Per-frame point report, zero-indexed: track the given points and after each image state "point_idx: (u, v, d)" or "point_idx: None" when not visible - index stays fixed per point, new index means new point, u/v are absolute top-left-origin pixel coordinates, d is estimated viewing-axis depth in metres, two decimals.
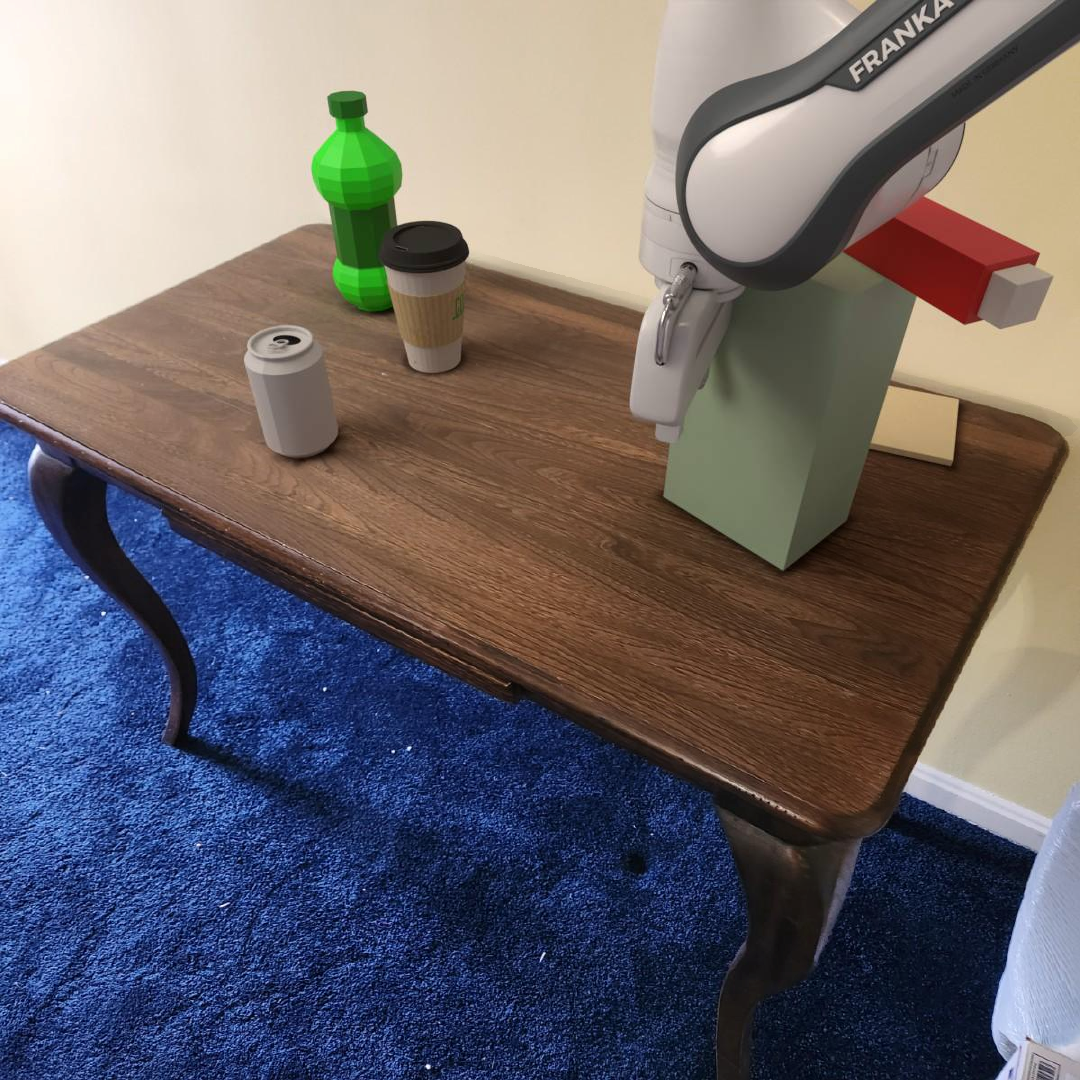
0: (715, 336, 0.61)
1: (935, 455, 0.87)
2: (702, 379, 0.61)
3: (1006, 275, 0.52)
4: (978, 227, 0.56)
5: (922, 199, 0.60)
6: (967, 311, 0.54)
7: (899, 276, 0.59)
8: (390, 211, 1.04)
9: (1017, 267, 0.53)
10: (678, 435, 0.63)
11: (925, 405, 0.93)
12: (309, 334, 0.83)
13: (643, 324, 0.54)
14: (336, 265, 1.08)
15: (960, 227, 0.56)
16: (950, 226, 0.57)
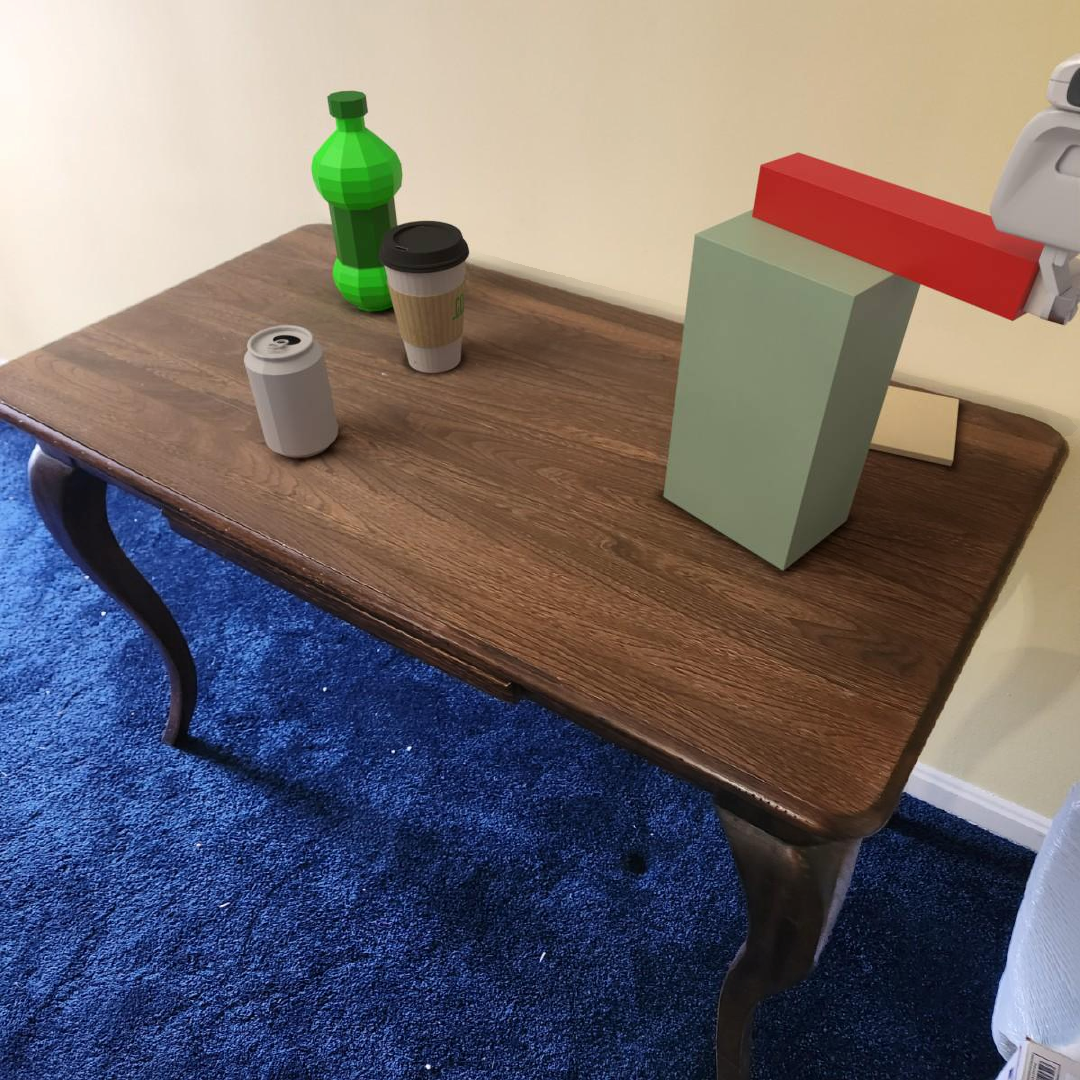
0: None
1: (935, 455, 0.87)
2: None
3: None
4: None
5: (931, 199, 0.60)
6: (1015, 307, 0.55)
7: (929, 278, 0.59)
8: (390, 211, 1.04)
9: None
10: None
11: (925, 405, 0.93)
12: (309, 334, 0.83)
13: None
14: (336, 265, 1.08)
15: (986, 225, 0.57)
16: (975, 224, 0.57)
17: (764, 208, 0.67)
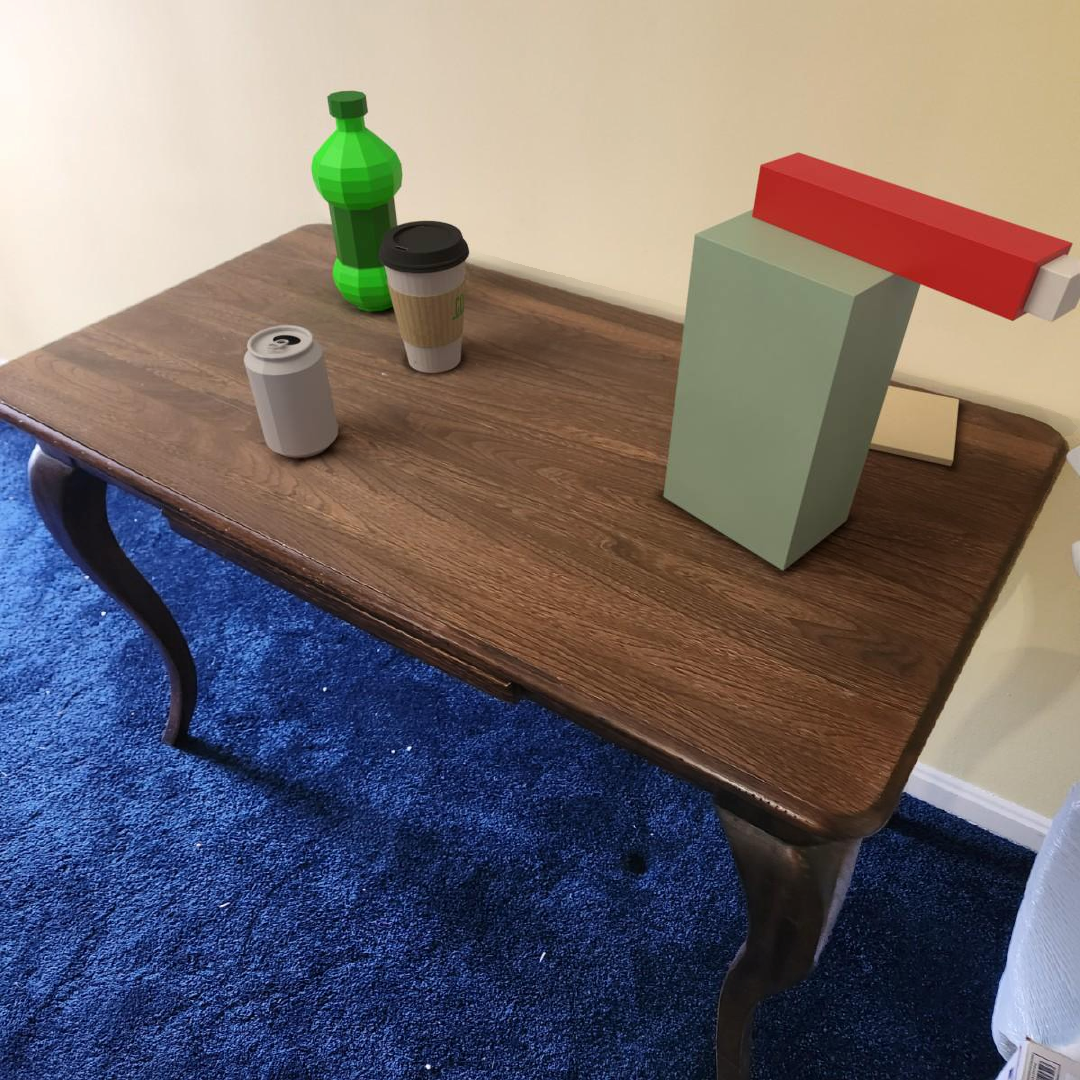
0: None
1: (935, 455, 0.87)
2: None
3: (1055, 269, 0.53)
4: (1001, 223, 0.57)
5: (931, 199, 0.60)
6: (1015, 307, 0.55)
7: (929, 278, 0.59)
8: (390, 211, 1.04)
9: (1058, 259, 0.54)
10: None
11: (925, 405, 0.93)
12: (309, 334, 0.83)
13: None
14: (336, 265, 1.08)
15: (986, 225, 0.57)
16: (975, 224, 0.57)
17: (764, 208, 0.67)
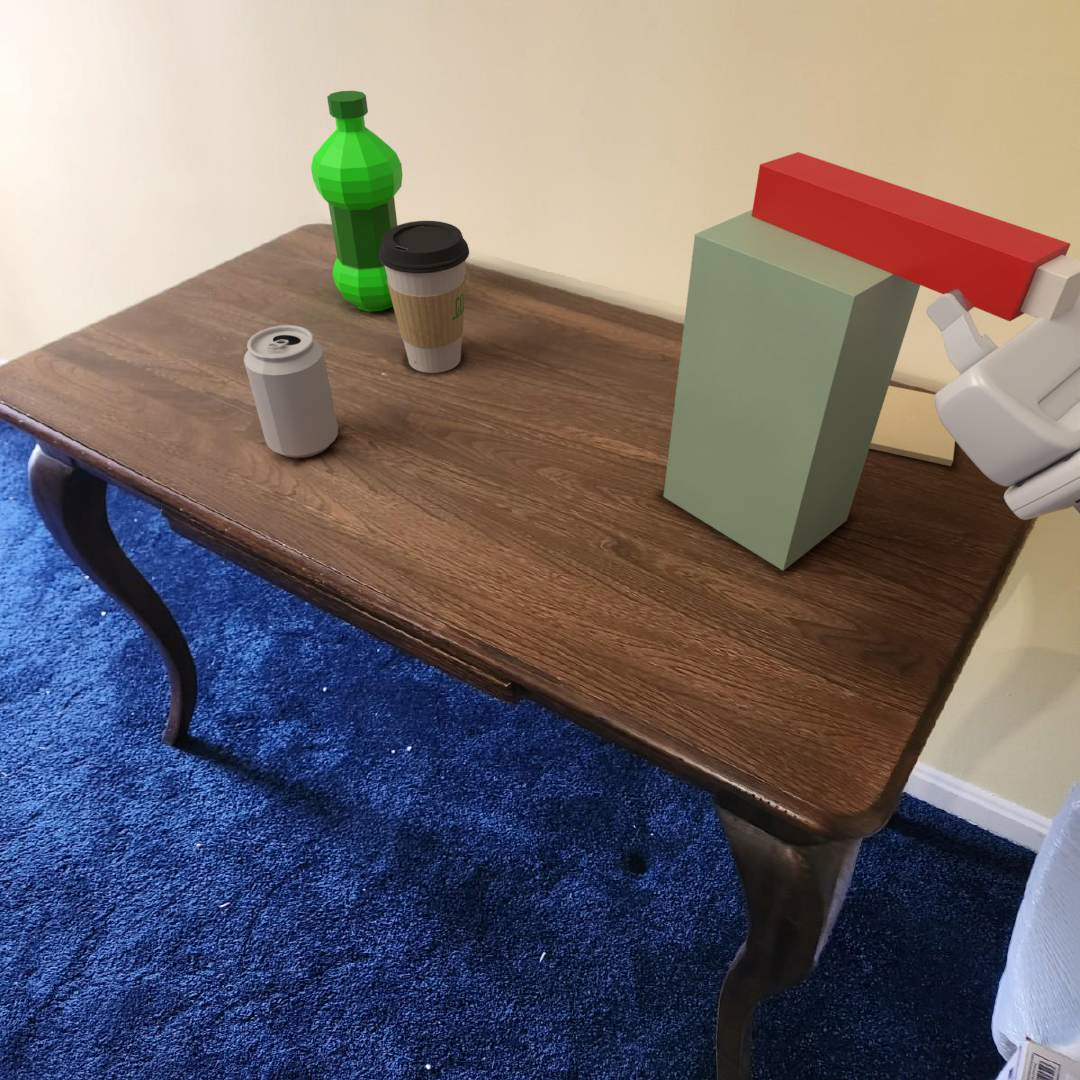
0: (1077, 338, 0.54)
1: (935, 455, 0.87)
2: None
3: (1052, 269, 0.53)
4: (999, 223, 0.57)
5: (929, 199, 0.60)
6: (1012, 308, 0.55)
7: (926, 278, 0.58)
8: (390, 211, 1.04)
9: (1055, 260, 0.54)
10: None
11: (925, 405, 0.93)
12: (309, 334, 0.83)
13: None
14: (336, 265, 1.08)
15: (984, 225, 0.57)
16: (973, 224, 0.57)
17: (763, 208, 0.67)
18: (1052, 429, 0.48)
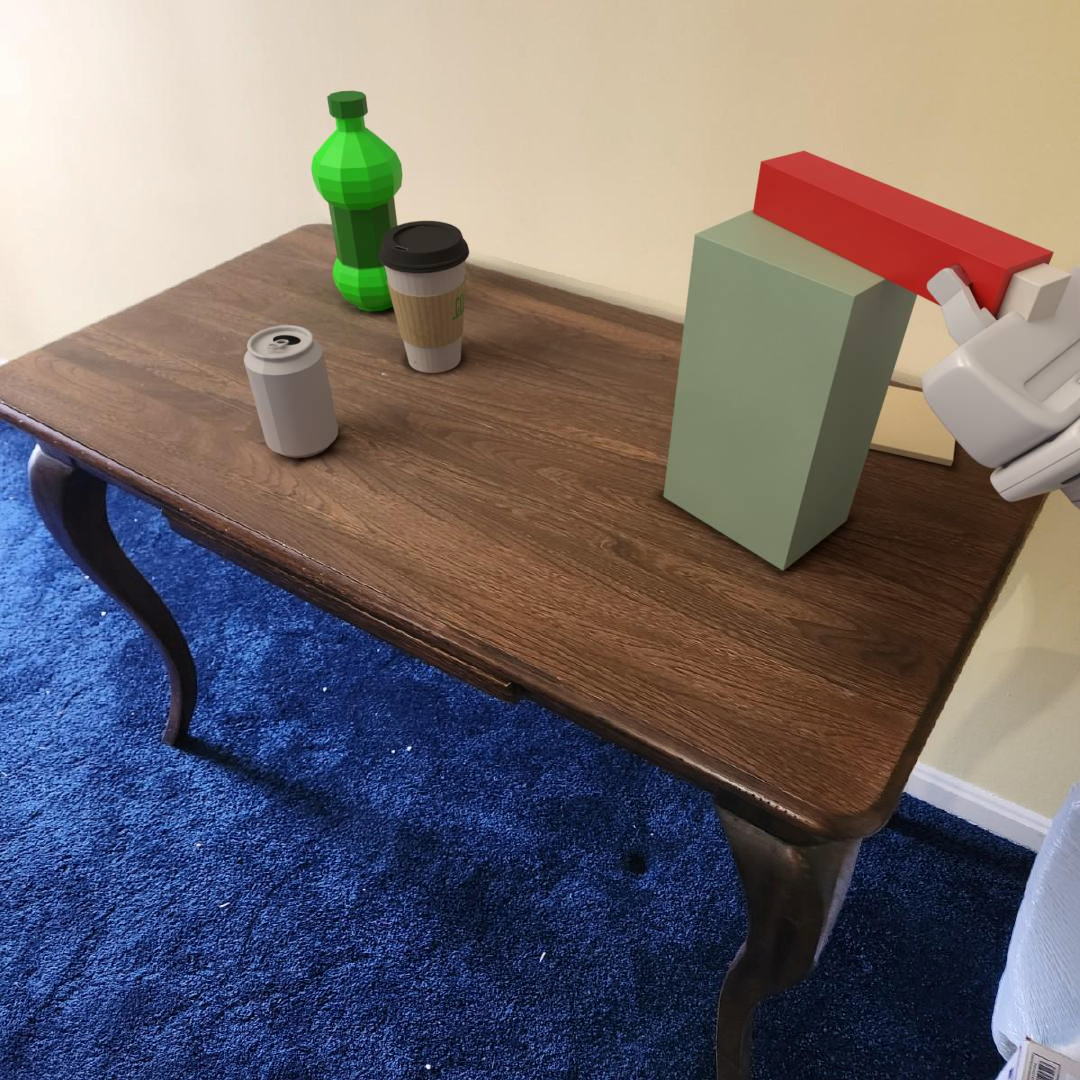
0: (1063, 321, 0.54)
1: (935, 455, 0.87)
2: None
3: (1027, 277, 0.52)
4: (986, 228, 0.56)
5: (922, 202, 0.60)
6: None
7: (909, 281, 0.58)
8: (390, 211, 1.04)
9: (1034, 268, 0.53)
10: None
11: (925, 405, 0.93)
12: (309, 334, 0.83)
13: None
14: (336, 265, 1.08)
15: (969, 230, 0.56)
16: (958, 229, 0.56)
17: (763, 205, 0.67)
18: (1036, 410, 0.49)
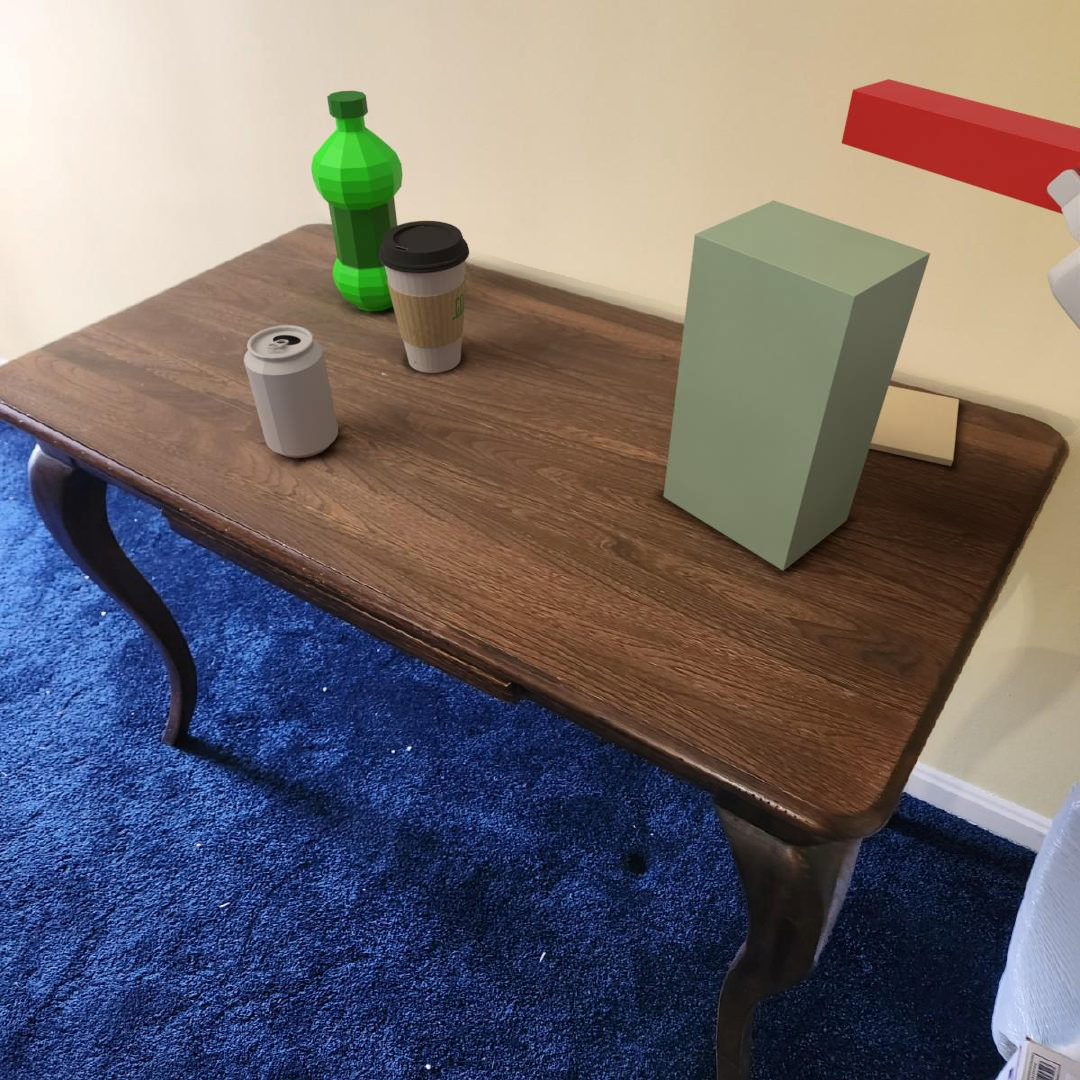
0: None
1: (935, 455, 0.87)
2: None
3: None
4: None
5: (1027, 116, 0.61)
6: None
7: (1026, 193, 0.60)
8: (390, 211, 1.04)
9: None
10: None
11: (925, 405, 0.93)
12: (309, 334, 0.83)
13: None
14: (336, 265, 1.08)
15: None
16: (1075, 137, 0.58)
17: (855, 134, 0.68)
18: None
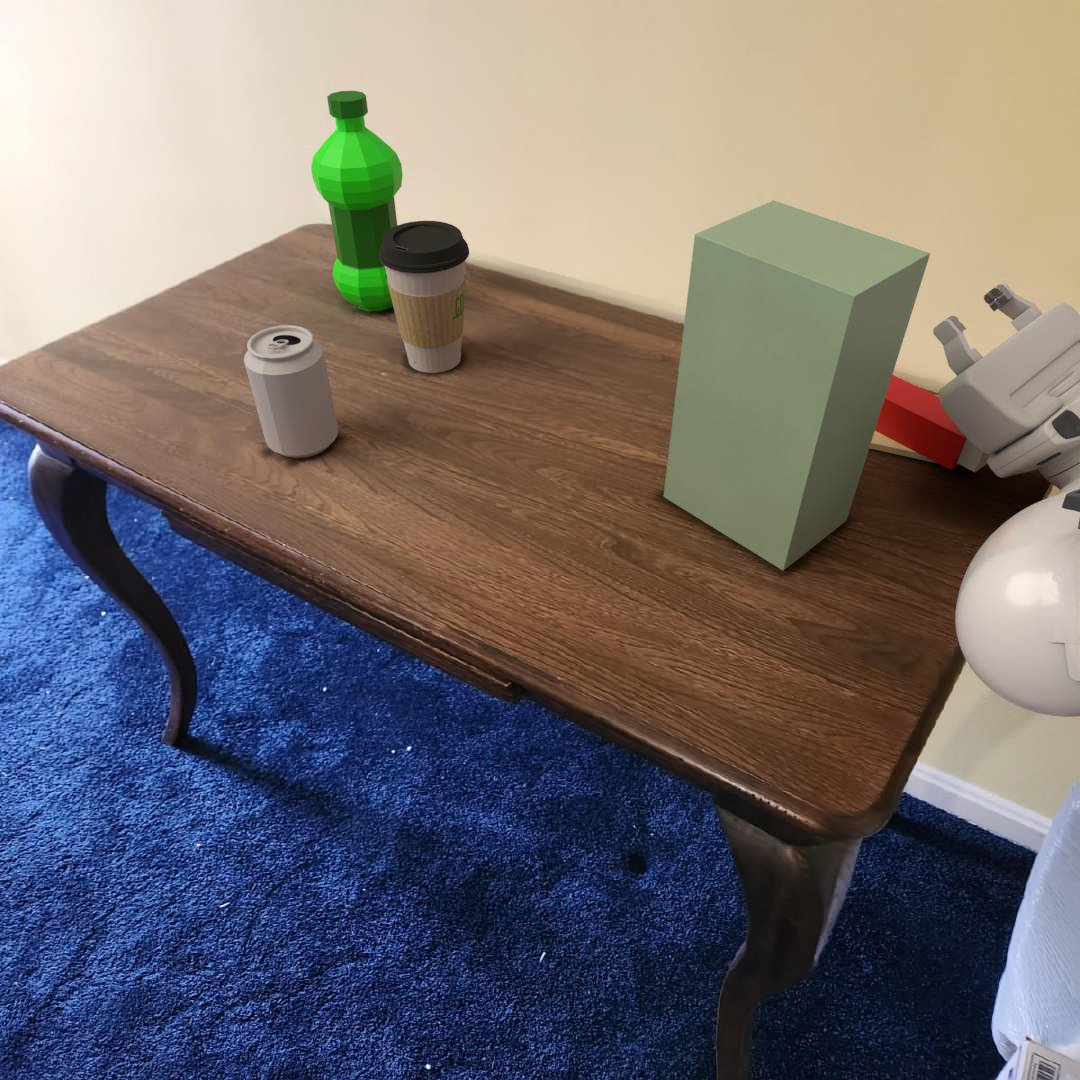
0: (1039, 350, 0.77)
1: None
2: (1036, 323, 0.78)
3: None
4: None
5: (897, 380, 0.90)
6: (952, 462, 0.84)
7: (896, 436, 0.88)
8: (390, 211, 1.04)
9: None
10: (1008, 287, 0.81)
11: None
12: (309, 334, 0.83)
13: None
14: (336, 265, 1.08)
15: (933, 404, 0.86)
16: (926, 403, 0.86)
17: None
18: (1018, 413, 0.71)
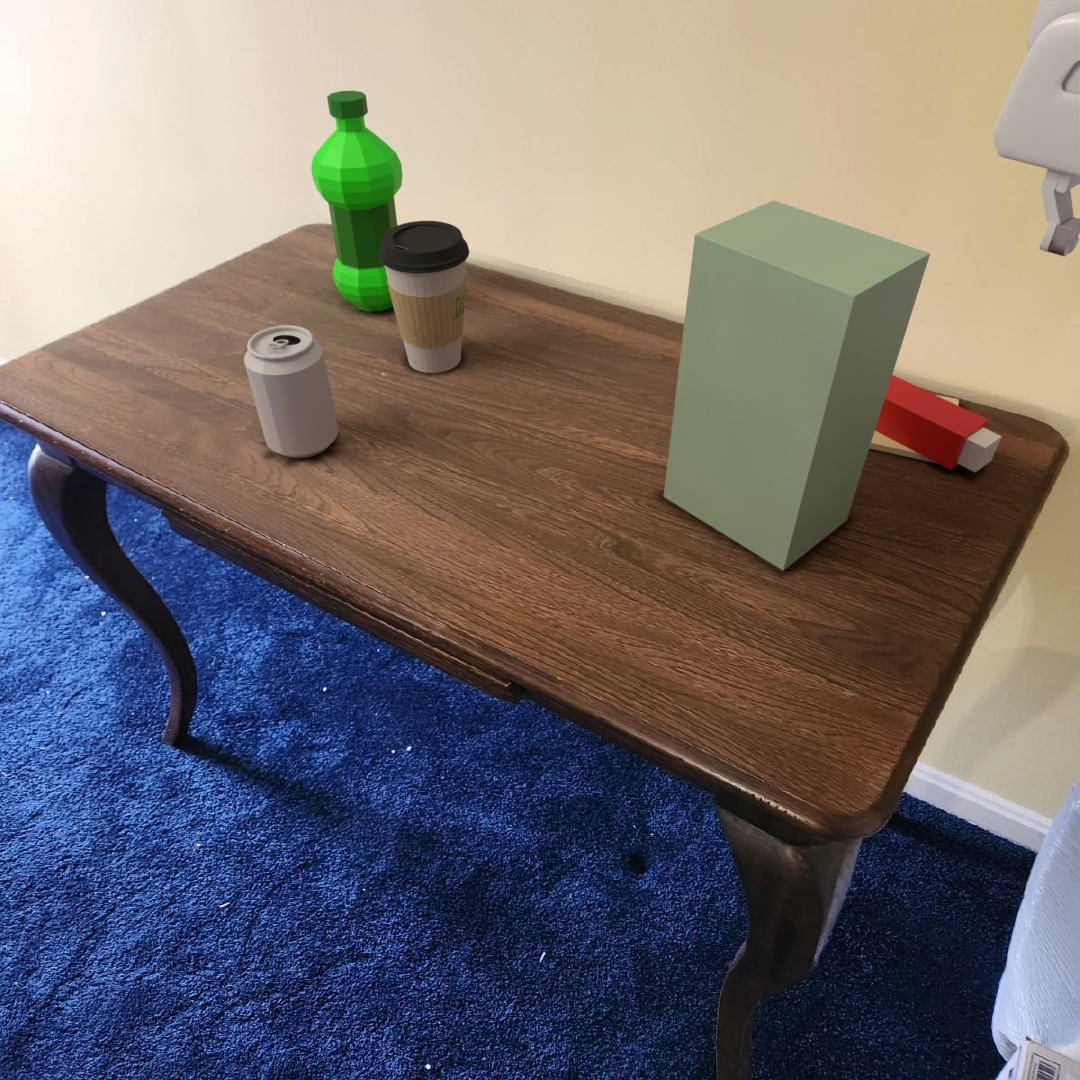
0: None
1: None
2: None
3: (975, 440, 0.82)
4: (943, 402, 0.86)
5: (897, 380, 0.90)
6: (952, 462, 0.84)
7: (896, 436, 0.88)
8: (390, 211, 1.04)
9: (978, 432, 0.83)
10: (1043, 237, 0.51)
11: None
12: (309, 334, 0.83)
13: None
14: (336, 265, 1.08)
15: (933, 404, 0.86)
16: (926, 403, 0.86)
17: None
18: None
